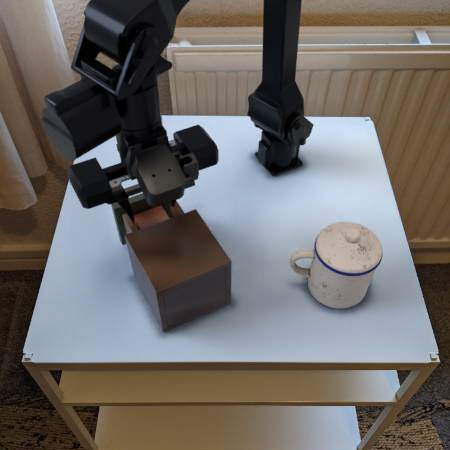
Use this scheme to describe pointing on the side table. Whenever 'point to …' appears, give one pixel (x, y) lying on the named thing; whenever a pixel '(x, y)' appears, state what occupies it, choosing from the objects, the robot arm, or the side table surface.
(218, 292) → the cabinet
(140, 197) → the drawer
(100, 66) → the robot arm
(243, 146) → the side table surface
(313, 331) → the side table surface
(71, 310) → the side table surface
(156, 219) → the block
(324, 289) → the teacup with lid
